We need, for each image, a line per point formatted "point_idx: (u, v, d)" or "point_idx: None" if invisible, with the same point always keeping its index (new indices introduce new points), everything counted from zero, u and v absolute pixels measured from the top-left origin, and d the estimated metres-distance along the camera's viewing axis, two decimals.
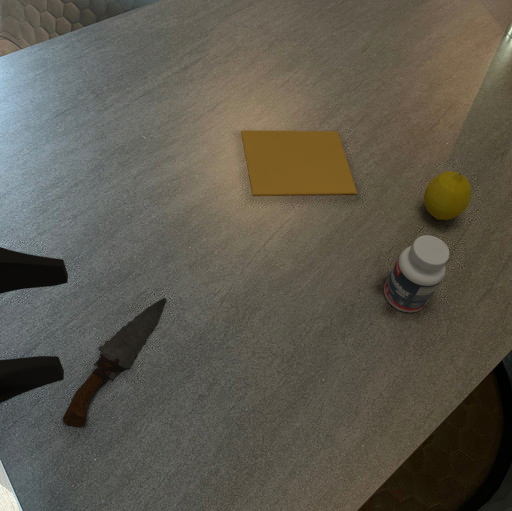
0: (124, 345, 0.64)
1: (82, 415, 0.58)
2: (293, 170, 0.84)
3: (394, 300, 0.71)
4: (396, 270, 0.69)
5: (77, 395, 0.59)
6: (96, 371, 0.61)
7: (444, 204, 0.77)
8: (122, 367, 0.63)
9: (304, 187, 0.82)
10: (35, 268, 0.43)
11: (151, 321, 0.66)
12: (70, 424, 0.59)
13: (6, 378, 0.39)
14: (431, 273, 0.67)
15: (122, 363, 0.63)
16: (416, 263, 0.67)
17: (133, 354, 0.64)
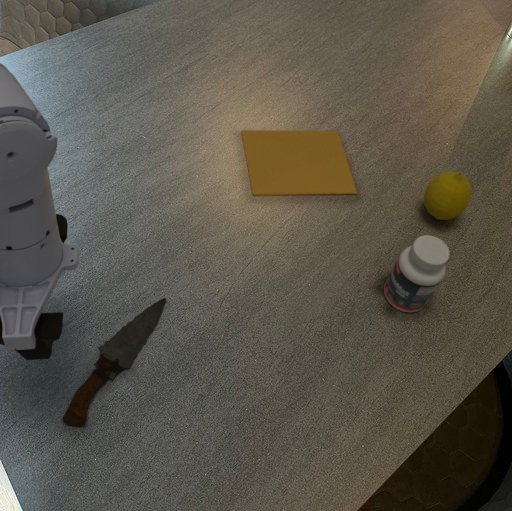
0: (124, 345, 0.64)
1: (82, 415, 0.58)
2: (293, 170, 0.84)
3: (394, 300, 0.71)
4: (396, 270, 0.69)
5: (77, 395, 0.59)
6: (96, 371, 0.61)
7: (444, 204, 0.77)
8: (122, 367, 0.63)
9: (304, 187, 0.82)
10: None
11: (151, 321, 0.66)
12: (70, 424, 0.59)
13: (36, 341, 0.51)
14: (432, 273, 0.67)
15: (122, 363, 0.63)
16: (416, 263, 0.67)
17: (133, 354, 0.64)
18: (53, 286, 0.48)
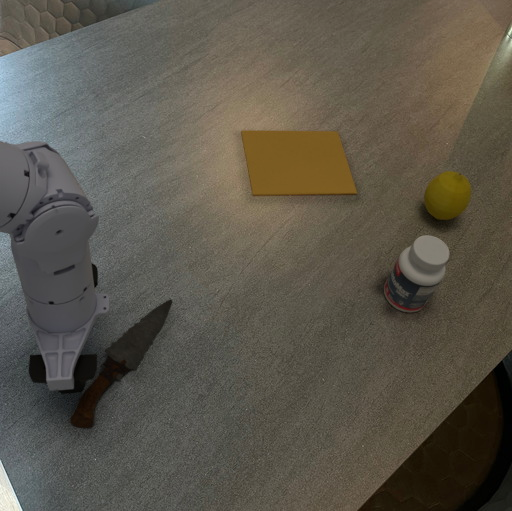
0: (131, 347, 0.64)
1: (90, 416, 0.58)
2: (293, 170, 0.84)
3: (394, 300, 0.71)
4: (396, 270, 0.69)
5: (84, 397, 0.59)
6: (103, 373, 0.61)
7: (444, 204, 0.77)
8: (129, 368, 0.63)
9: (304, 187, 0.82)
10: None
11: (157, 323, 0.67)
12: (77, 425, 0.59)
13: None
14: (431, 273, 0.67)
15: (129, 364, 0.63)
16: (416, 263, 0.67)
17: (140, 356, 0.64)
18: (88, 332, 0.54)
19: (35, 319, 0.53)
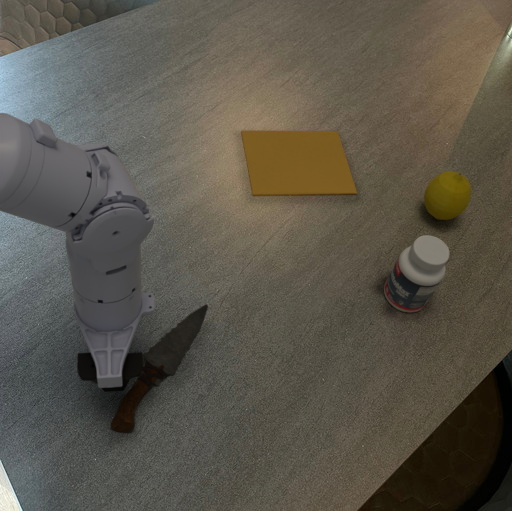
0: (169, 352, 0.64)
1: (130, 421, 0.58)
2: (293, 170, 0.84)
3: (394, 300, 0.71)
4: (396, 270, 0.69)
5: (124, 401, 0.59)
6: (142, 377, 0.61)
7: (444, 204, 0.77)
8: (167, 374, 0.63)
9: (304, 187, 0.82)
10: None
11: (194, 328, 0.67)
12: (117, 430, 0.59)
13: None
14: (431, 273, 0.67)
15: (167, 370, 0.63)
16: (416, 263, 0.67)
17: (177, 361, 0.64)
18: (135, 330, 0.55)
19: (84, 318, 0.54)
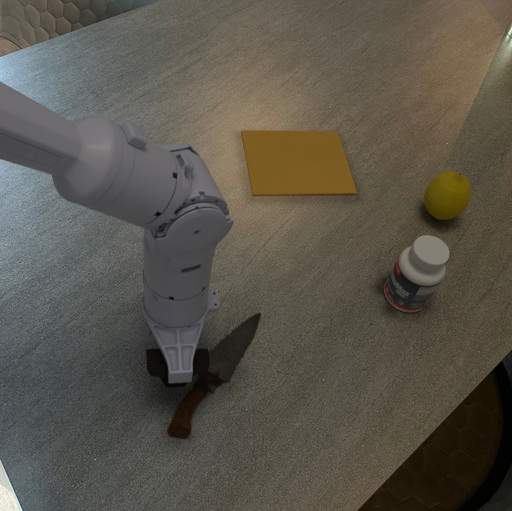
0: (224, 358, 0.64)
1: (188, 427, 0.58)
2: (293, 170, 0.84)
3: (394, 300, 0.71)
4: (396, 270, 0.69)
5: (181, 407, 0.60)
6: (198, 383, 0.62)
7: (444, 204, 0.77)
8: (222, 380, 0.63)
9: (304, 187, 0.82)
10: None
11: (248, 335, 0.67)
12: (174, 435, 0.59)
13: None
14: (431, 273, 0.67)
15: (222, 376, 0.63)
16: (416, 263, 0.67)
17: (232, 368, 0.64)
18: (202, 327, 0.56)
19: (154, 314, 0.55)
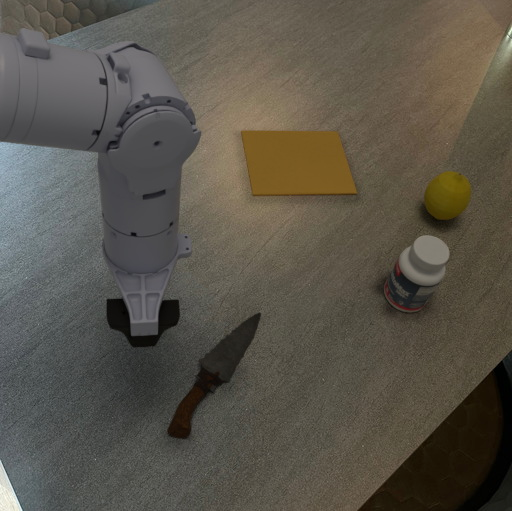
0: (224, 358, 0.64)
1: (188, 427, 0.58)
2: (293, 170, 0.84)
3: (394, 300, 0.71)
4: (396, 270, 0.69)
5: (182, 407, 0.60)
6: (198, 383, 0.62)
7: (444, 204, 0.77)
8: (222, 380, 0.63)
9: (304, 187, 0.82)
10: None
11: (248, 335, 0.67)
12: (174, 435, 0.59)
13: None
14: (432, 273, 0.67)
15: (222, 376, 0.63)
16: (416, 263, 0.67)
17: (232, 368, 0.64)
18: (171, 273, 0.49)
19: (114, 257, 0.48)
